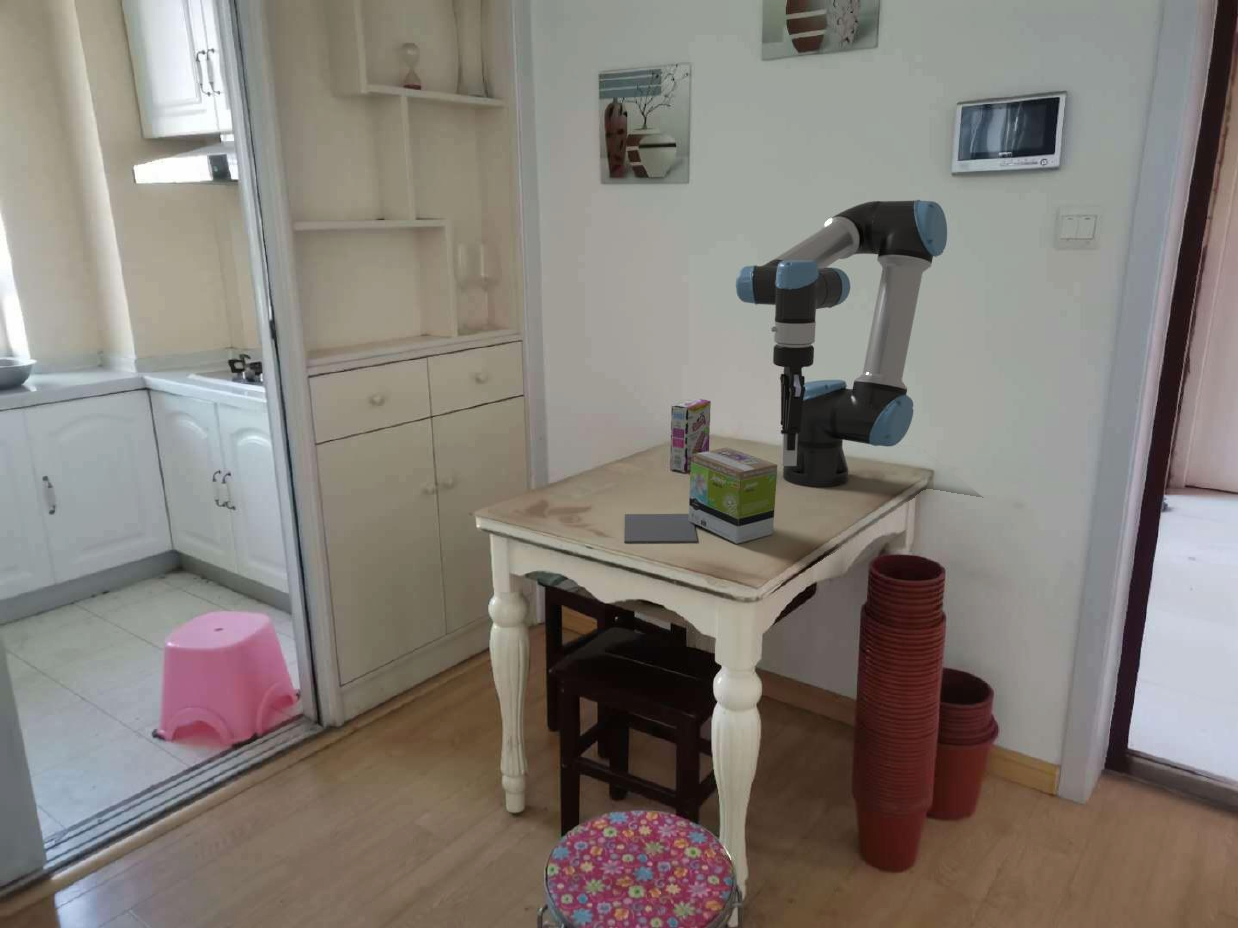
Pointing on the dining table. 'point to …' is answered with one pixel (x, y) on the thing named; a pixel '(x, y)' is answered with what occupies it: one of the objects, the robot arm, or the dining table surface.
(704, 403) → the candy bar box
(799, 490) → the dining table surface
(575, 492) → the dining table surface
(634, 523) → the mat
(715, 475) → the tea box
